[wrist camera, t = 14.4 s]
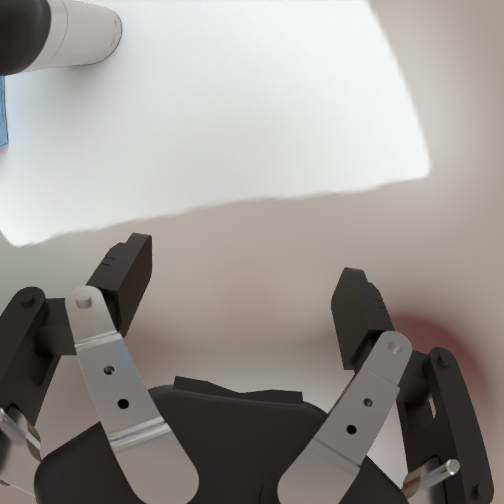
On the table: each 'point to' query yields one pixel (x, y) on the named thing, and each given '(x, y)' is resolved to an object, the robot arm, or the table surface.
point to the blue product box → (2, 114)
